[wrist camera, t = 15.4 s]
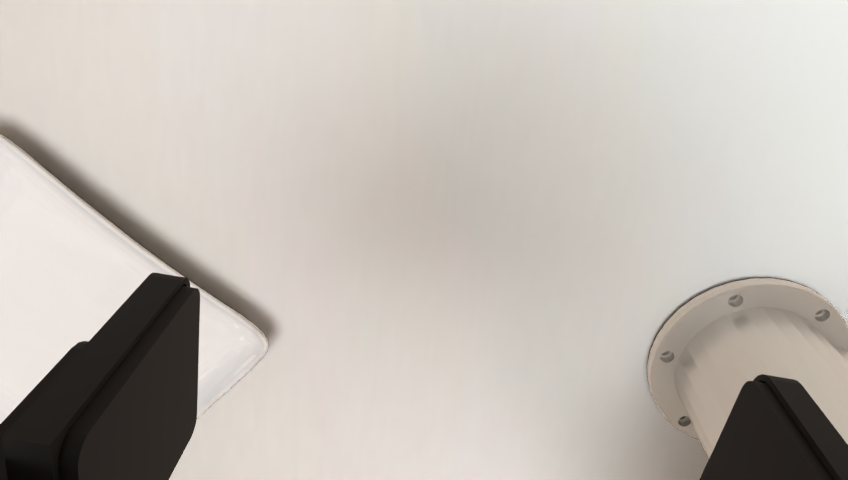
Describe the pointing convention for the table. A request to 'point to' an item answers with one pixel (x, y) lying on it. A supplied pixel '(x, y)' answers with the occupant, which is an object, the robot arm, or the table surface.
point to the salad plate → (85, 286)
